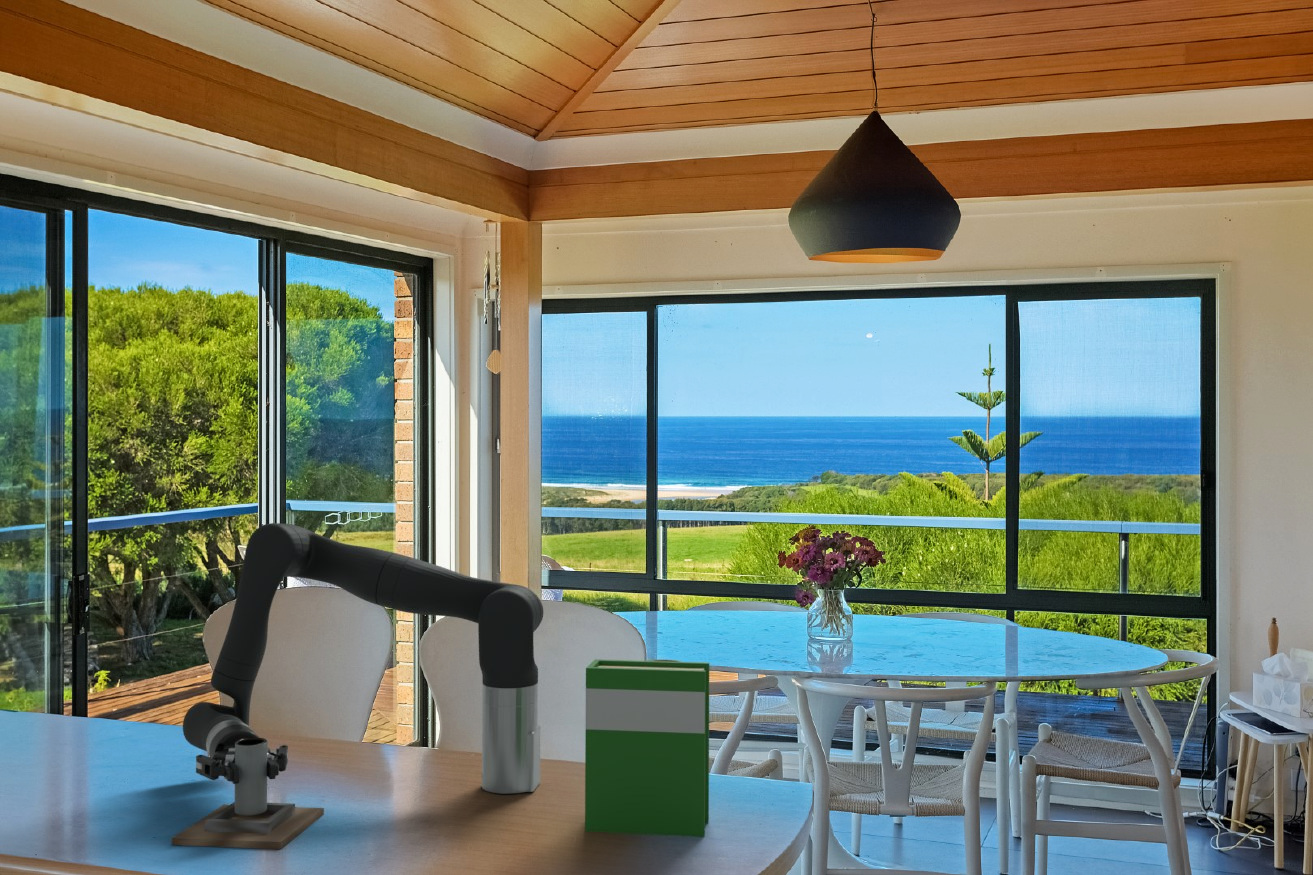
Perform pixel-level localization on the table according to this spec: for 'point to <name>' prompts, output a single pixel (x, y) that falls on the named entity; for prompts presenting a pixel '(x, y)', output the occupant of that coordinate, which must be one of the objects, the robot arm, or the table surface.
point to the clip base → (249, 827)
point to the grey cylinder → (251, 776)
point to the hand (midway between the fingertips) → (255, 774)
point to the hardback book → (647, 747)
